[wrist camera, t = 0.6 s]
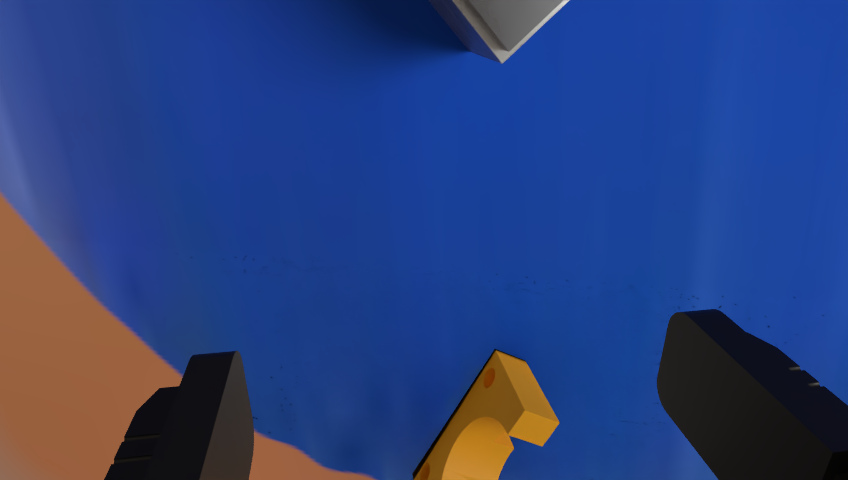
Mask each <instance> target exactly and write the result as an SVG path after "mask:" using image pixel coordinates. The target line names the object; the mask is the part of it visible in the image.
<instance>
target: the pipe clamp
mask: <svg viewBox="0 0 848 480" xmlns="http://www.w3.org/2000/svg"><path fill="white" fill-rule="evenodd" d="M558 424H559V421H558V419H557V417H556V415H555V413H554V412H553V410H552V408H551V406H550V404H549V403H548V401H547V399H546V397H545V395H544V394H543V392H542V390H541V388H540V386H539V385H538V383H537V381H536V379H535V377H534V376H533V374H532V372H531V370H530V368H529V367H528V365H527V363H526V361H525V360H522V359H520V358H517V357H515V356H512V355H510V354H507V353H504V352H502V351H499V350H497V349H495V350H494V351H493V353H492V354H491V356H490V357H489V359H488V360H487V362H486V363H485V365H484V366H483V368H482V369H481V371H480V372H479V374H478V375H477V377H476V378H475V380H474V381H473V383H472V384H471V386H470V387H469V389H468V390H467V392H466V393H465V395H464V396H463V398H462V400H461V401H460V403H459V404H458V406H457V407H456V409H455V410H454V412H453V413H452V415H451V416H450V418H449V419H448V421H447V422H446V424H445V425H444V427H443V428H442V430H441V431H440V433H439V434H438V436H437V437H436V439H435V440H434V442H433V443H432V445H431V446H430V448H429V449H428V451H427V452H426V454H425V456H424V457H423V459H422V460H421V462H420V463H419V465H418V466H417V468H416V469H415V471H414V472H413V480H498V478H499V475H500V472H501V470H502V467H503V465H504V463H505V461H506V459H507V458H508V456H509V455H510V453H511V452H512V451H513V449H514V447H513V445H512V442H511V440H510V437H509V435H510V436H513V437H516V438H519V439H522V440H525V441H528V442H531V443H534V444H537V445H540V446H543V445H544V443H545V442H546V441H547V439H548V438H549V437H550V435H551V434H552V433H553V431H554V430H555V428H556V427H557V426H558Z"/></svg>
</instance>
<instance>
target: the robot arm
mask: <svg viewBox="0 0 848 480" xmlns="http://www.w3.org/2000/svg"><path fill="white" fill-rule="evenodd" d="M657 389H658V394H659V398H660V401H661V403H662V406H663V407H664V409H665V411H666V412H667V414H668V415H669V416H670V417H671V419H672V420H673V421H674V423H675V424H676V425H677V426H678V428H679V429H680V430H681V432H682V433H683V434H684V436H685V437H686V438H687V439H688V441H689V442H690V443H691V445H692V446H693V447H694V448H695V450H696V451H697V452H698V454H699V455H700V456H701V457H702V459H703V460H704V461H705V463H706V464H707V465H708V466H709V468H710V469H711V470H712V472H713V473H714V474H715V476H716V477H717V478H718V479H719V480H848V406H847V405H846V404H845V403H844V402H843V401H841V400H840V399H839V398H838V397H837V396H835V395H834V394H833V393H832V392H830V391H829V390H828V389H827V388H826V387H824V386H823V387H820V385H819V382H818V381H817V380H816V379H815V378H813V377H812V376H811V375H810V374H809V373H807V372H806V371H805V370H802V371H801V370H800V366H799V365H798V364H796V363H795V362H794V361H793V360H791V359H790V358H789V357H788V356H787V355H785V354H784V353H783V352H782V351H780V350H779V349H778V348H777V347H775V346H773V345H771V344H769V343H767V342H765V341H763V340H761V339H759V338H757V337H755V336H753V335H751V334H749V333H746V332H745V331H744V330H743V329H741V328H740V327H739V326H738V325H737V324H736V323H734V322H733V321H732V320H731V319H730V318H728V317H727V316H726V315H725V314H724V313H722V312H721V311H719V310H716V309H710V310H699V311H688V312H677V313H675V314H674V315H672V317H671V318H670V320H669V324H668V328H667V333H666V338H665V343H664V348H663V352H662V357H661V362H660V367H659V372H658V377H657ZM124 438H125V440H124V442H122V443H121V445H120V447H119V449H118V451H117V454H116V456H115V458H114V464H111V466H110V468H109V471H108V473H107V475H106V477H105V479H104V480H249V474H250V469H251V462H252V456H253V446H254V429H253V419H252V413H251V407H250V402H249V396H248V391H247V385H246V380H245V374H244V368H243V363H242V358H241V355H240V353H239V352H238V351H232V352H221V353H209V354H198V355H193V356H192V357H191V358H190V360H189V363H188V365H187V368H186V370H185V373H184V376H183V378H182V381H181V384H180V386H178V387H167V388H159V389H158V390H157V391H156V392H155V393H154V394H153V395H152V396H151V397H150V398H149V399H148V400H147V401H146V402H145V403H144V404H143V405H142V406H141V407H140V408H139V409H138V410H137V411H136V413H135V415H134V417H133V419H132V422H131V424H130V426H129V428H128V430H127V432H126V434H125V436H124Z"/></svg>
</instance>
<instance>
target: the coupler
mask: <svg viewBox="0 0 848 480" xmlns="http://www.w3.org/2000/svg"><path fill="white" fill-rule="evenodd" d="M428 1H429V2H430V3H431V4H432V6H433V7H434V8H435V9H436V11H437V12H438V13H439V14H440V16H441V17H442V18H443V19H444V20H445V22H446V23H447V24H448V25H449V27H450V28H451V29H452V30H453V32H454V33H455V34H456V35H457V36H458V38H459V39H460V40H461V41H462V43H463V44H464V45H465V46H466V48H467V49H468V50H469V51H470V52H472V53H475V54H477V55H480V56H483V57H486V58H488V59H491V60H494V61H496V62H499V63H503V62H504V61H505V60H507V59H508V58H509V57H510V56H511V55H512V54H513V53H514V52H515V51H516V50H517V49H518V48H519V47H520V46H521V45H522V44H524V43H525V42H526V41H527V40H528V39H529V38H530V37H531V36H532V35H533V34H534V33H535V32H536V31H537V30H538V29H539V28H540V27H542V26H543V25H544V24H545V23H546V22H547V21H548V20H549V19H550V18H551V17H552V16H553V15H554V14H555V13H556V12H557V11H559V10H560V9H561V8H562V7H563V6H564V5H565V4H566V3H567V2H568V1H569V0H428Z"/></svg>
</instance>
